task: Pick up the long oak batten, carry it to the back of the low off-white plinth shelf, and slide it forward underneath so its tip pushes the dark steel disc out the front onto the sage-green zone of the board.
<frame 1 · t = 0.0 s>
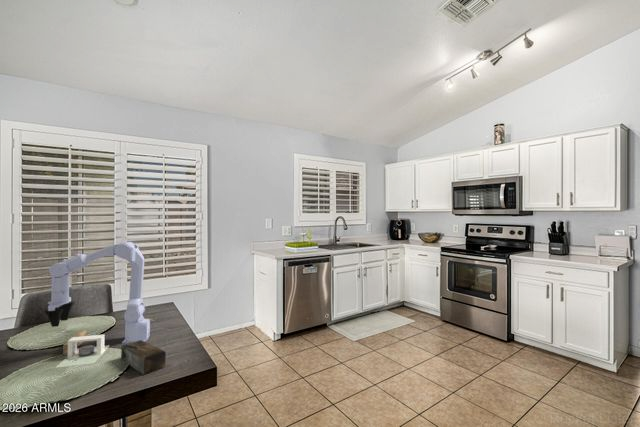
hand: (59, 323, 131), 10 cm above the table, fingers open, 7 cm apart
token: (86, 353, 124), point 1 cm above the table, touching floor board
blade batten: (75, 348, 131), on the table
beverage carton: (142, 365, 117), on the table
floor board: (85, 356, 123), on the table
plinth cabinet: (86, 355, 124), resting on floor board
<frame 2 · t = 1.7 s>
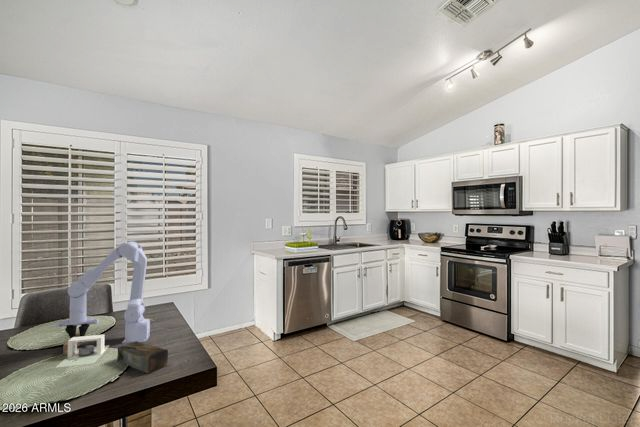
hand: (77, 342, 133), 1 cm above the table, fingers closed on blade batten, 2 cm apart
blade batten: (75, 347, 131), on the table, touching gripper
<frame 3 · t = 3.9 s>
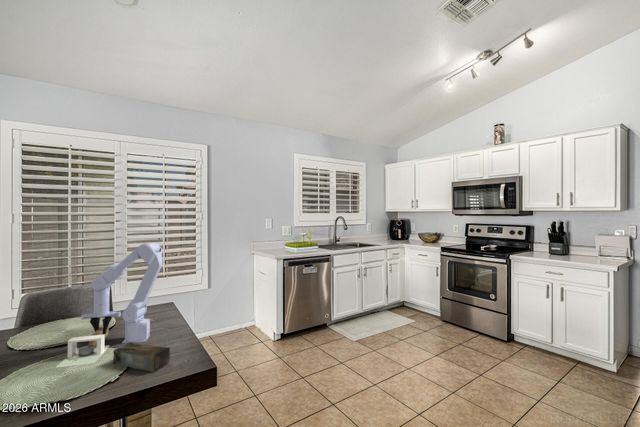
hand: (101, 334, 138), 3 cm above the table, fingers closed on blade batten, 2 cm apart
blade batten: (99, 340, 136), point 1 cm above the table, touching floor board, gripper
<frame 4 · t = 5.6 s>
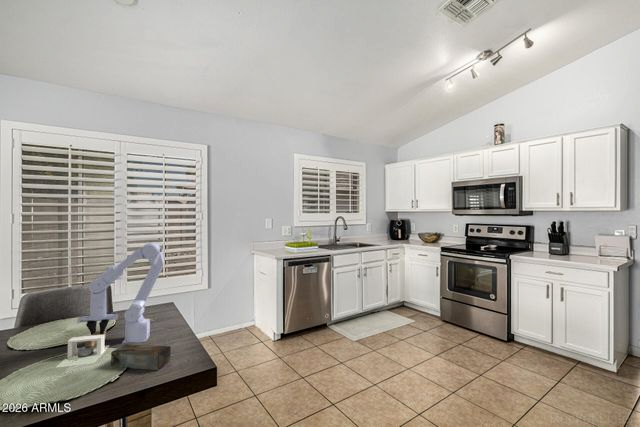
hand: (97, 337, 135), 3 cm above the table, fingers closed on blade batten, 2 cm apart
token: (85, 354, 123), point 1 cm above the table, touching blade batten
blade batten: (96, 344, 133), on the table, touching gripper, token
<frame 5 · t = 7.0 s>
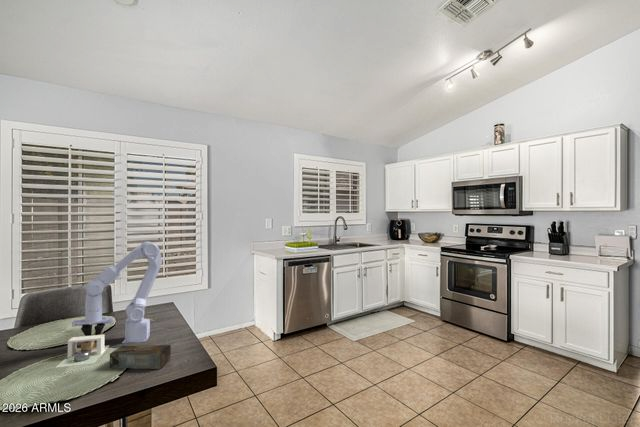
hand: (93, 342, 130), 3 cm above the table, fingers closed on blade batten, 2 cm apart
token: (81, 359, 119), point 1 cm above the table, touching blade batten, floor board
blade batten: (92, 347, 129), point 1 cm above the table, touching floor board, gripper, token
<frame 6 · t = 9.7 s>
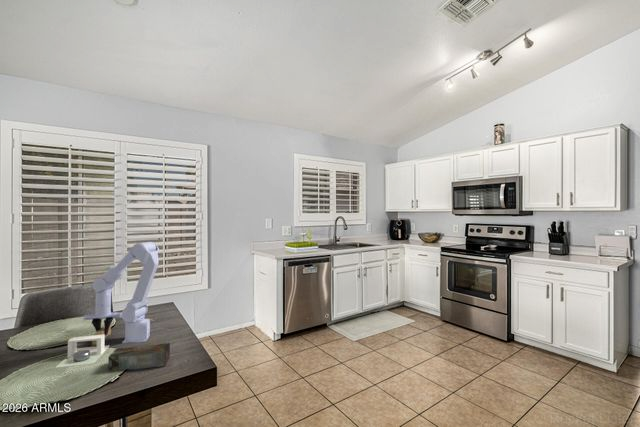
hand: (102, 334, 140), 2 cm above the table, fingers closed on blade batten, 2 cm apart
token: (81, 359, 119), point 1 cm above the table, touching floor board
blade batten: (101, 339, 139), on the table, touching gripper
when the fingers open (2 cm above the table, at t = 9.8 s): blade batten stays where it is, on the table.
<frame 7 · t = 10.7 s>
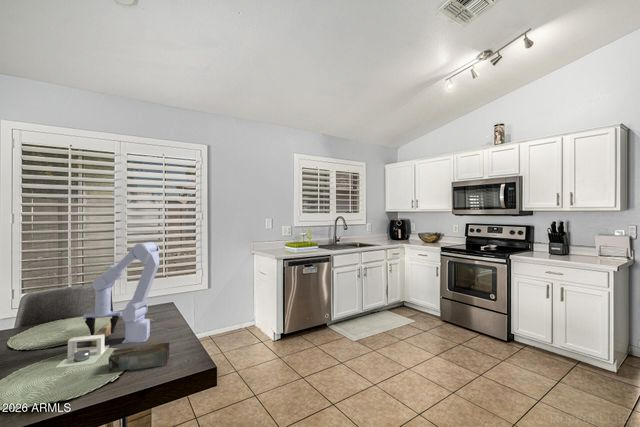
hand: (102, 333, 140), 2 cm above the table, fingers open, 7 cm apart
blade batten: (101, 340, 139), on the table
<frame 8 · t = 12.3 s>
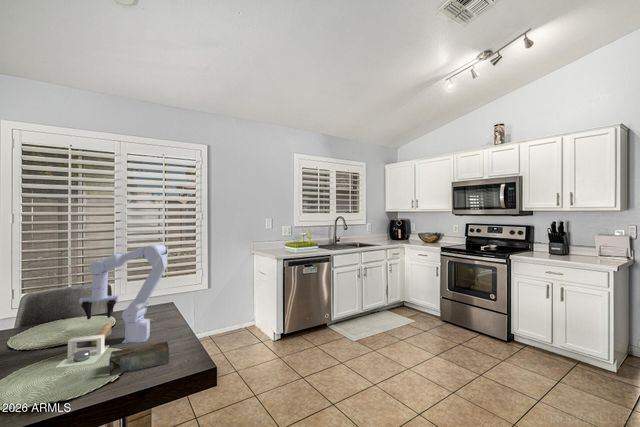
hand: (99, 318, 139), 10 cm above the table, fingers open, 7 cm apart
at the end: token inside the target area (2.9 cm from its centre), point 0.6 cm above the table; token tilted 1°; token moved 4.9 cm from its start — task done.
